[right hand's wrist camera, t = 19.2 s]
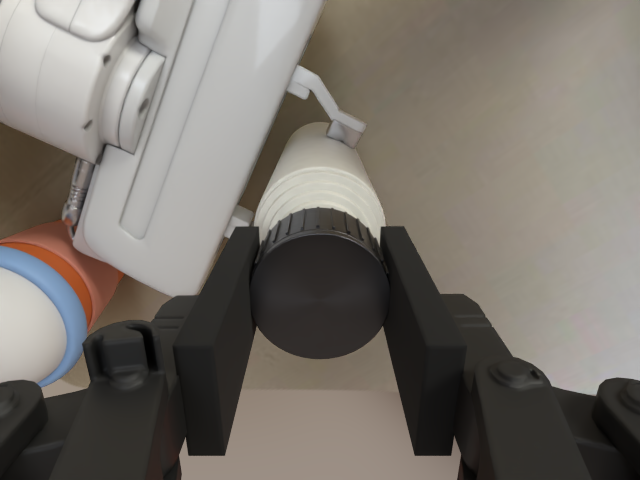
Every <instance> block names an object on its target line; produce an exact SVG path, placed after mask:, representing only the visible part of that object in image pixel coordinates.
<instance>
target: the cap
mask: <svg viewBox="0 0 640 480" xmlns="http://www.w3.org/2000/svg"><path fill="white" fill-rule="evenodd" d="M254 265H255V266H254V269H253V272H252V275H251V281H250V285H249V292H250V307H251V314H252V317H253V319H254V321H255V323H256V325H257V326H258V328H259V330H260V331H261V332H262V333H263V335H264V336H265V337H266V338H267V339H268V340H269V341H270V342H272V343H273V344H274V345H276V346H277V347H279V348H280V349H282V350H284V351H286V352H288V353H291V354H293V355H296V356H300V357H304V358H310V359H329V358H335V357H340V356H343V355H346V354H349V353H351V352H354V351H356V350H357V349H359V348H361V347H363V346H364V345H365V344H367V343H368V342H369V341H370V340H371V339H372V338H374V337H375V335H376V334H377V333H378V332H379V331H380V329H381V328H382V326H383V324H384V323H385V320H386V318H387V316H388V313H389V301H390V282H389V279H388V276H387V275H388V273H389V272H388V269H387V266H386V263H385V260H384V258H383V255H382V252H381V249H380V247H379V244H378V241H377V238H376V237H375V238H374V237H373V235H372V234H371V232H370V229H369V227H366V226H365V225H364V224H363V223H361V222H360V220H359V219H358V218H357V219H356V218H355V217H353V216H351V215H349V214H347V212H342V211H339V210H336V209H334V208H319V207H317V208H309V209H305V208H304V209H303V210H300V211H297V212H295V213H293V214H292V213H290V214H289V215H288V216H287V217H285V218H284V219H282V220H281V221H280V220H279V221H278V222H277V224H276V225H275V226H274V227H273V228H272V229H271V230H270V229H269V230H268V233H267V236H266V238H265V240H262V242H261V245H260V248H259V251H258V254H257V257H256V260H255V262H254Z"/></svg>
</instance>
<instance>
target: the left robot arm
mask: <svg viewBox="0 0 640 480" xmlns="http://www.w3.org/2000/svg"><path fill="white" fill-rule="evenodd" d="M326 2H327V0H0V122H1V123H3V124H5V125H7V126H9V127H12V128H14V129H16V130H19V131H21V132H23V133H25V134H27V135H30V136H32V137H34V138H36V139H39V140H41V141H43V142H45V143H48V144H50V145H52V146H55V147H57V148H59V149H61V150H63V151H66V152H68V153H70V154H72V155H75V156H77V158H76V162H75V166H74V170H73V173H72V177H71V183H70V191H69V195H68V198H67V200H66V201H65V203H64V206H63V209H62V214H61V221H62V223H63V224H65V225H66V230H67V234H68V236H69V239H70V240H71V242H72V243H73V246H74V248H75V249H77V250H78V251H79V252H81V253H83V254H85V255H88V256H90V257H93V258H95V259H97V260H100V261H102V262H105V263H108V264H110V265H111V266H113V267H115V268H116V269H118V270H119V271H121V272H123V273H125V274H126V275H128V276H130V277H132V278H134V279H135V280H137V281H139V282H141V283H143V284H145V285H147V286H149V287H151V288H153V289H155V290H157V291H159V292H161V293H163V294H165V295H168V296H170V297H173V298H174V297H175V296H177V295H196V294H197V293H198V292H199V290H200V289H201V287H202V285H203V283H204V281H205V279H206V277H207V275H208V273H209V271H210V269H211V267H212V264H213V262H214V260H215V257H216V255H217V253H218V251H219V248H220V246H221V244H222V241H223V239H224V237H227V238H230V236H231V234H232V233H233V231H234V229H235V227H236V226H254V221H252V219H253V217H254V212H252V211H250V210H248V209H246V208H244V207H241V206H239V202H240V200H241V198H242V195H243V193H244V191H245V188H246V186H247V184H248V182H249V179H250V177H251V175H252V172H253V170H254V168H255V165H256V163H257V161H258V159H259V156H260V154H261V152H262V149H263V147H264V145H265V142H266V140H267V138H268V136H269V133H270V131H271V129H272V126H273V124H274V122H275V119H276V117H277V115H278V113H279V110H280V108H281V106H282V103H283V101H284V99H285V96H286V94H287V92H290V93H292V94H294V95H296V96H298V97H300V98H302V99H304V100H305V99H307V98H308V95H309V93H310V91H311V90H312V92H313V93H314V95H315V96H316V98H317V99H318V101H319V102H320V104H321V105H322V107H323V108H324V110H325V111H326V113H327V114H328V116H329V117H330V119H331V121H330V124H329V126H328V128H327V130H326V136H328V137H330V138H332V139H334V140H337V141H341V140H342V141H343V143H344V144H345V145H347V146H348V147H350V148H353V149H355V147H356V145H357V143H358V142H359V140H360V138H361V136H362V134H363V132H364V130H365V128H366V126H367V124H366V123H365V122H363V121H362V120H360V119H358V118H356V117H354V116H352V115H350V114H348V113H346V112H344V111H342V110H340V109H339V107H338V105H337V104H336V102H335V100H334V99H333V97H332V96H331V94H330V93H329V91H328V90H327V88H326V86H325V85H324V83H323V82H322V80H321V79H320V77H319V76H318V75H317V74H315V73H313V72H311V71H310V70H308V69H306V68H304V67H302V66H300V65H299V64H300V62H301V60H302V57H303V55H304V53H305V50H306V48H307V46H308V44H309V41H310V39H311V37H312V34H313V32H314V30H315V28H316V25H317V23H318V21H319V18H320V16H321V14H322V11H323V9H324V7H325V4H326ZM74 226H77V229H76V232H75V231H74Z"/></svg>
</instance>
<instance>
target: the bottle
mask: <svg viewBox="0 0 640 480" xmlns="http://www.w3.org/2000/svg"><path fill="white" fill-rule="evenodd" d="M329 124H330V123H327V122H313V123H309V124H306V125H304V126H302V127H300V128H299V129H297V130H296V131H295V132H294V133H293V134H292V135H291V137H290V138H289V139H288V141H287V143H286V145H285V147H284V150H283V152H282V154H281V156H280V159H279V161H278V163H277V165H276V167H275V170H274V172H273V174H272V176H271V179H270V181H269V183H268V185H267V187H266V190H265V192H264V194H263V196H262V199H261V201H260V203H259V205H258V208H257V211H256V215H255V220H254V226H259V237H260V245H261V242H262V240H265V238H266V236H267V233H268V230H269V229H270V230H271V229H272V228H273V227H274V226H275V225H276V224H277V222H278V221H279V220H280V221H281V220H282V219H284V218H285V217H287V216H288V215H289V214H290V213H292V214H293V213H295V212H297V211H300V210H303V209H304V208H305V209H309V208H317V207H319V208H334V209H336V210H339V211H342V212H347V214H349V215H351V216H353V217H355V218H356V219H357V218H358V219H359V220H360V222H361V223H363V224H364V225H365V226H366V227H369V229H370V232H371V234H372V235H373V237H374V238H375V237H376V238H377V241H378V244H379V247H380V230H381V226H386V223H385V216H384V212H383V209H382V206H381V204H380V201H379V199H378V197H377V195H376V193H375V190H374V188H373V186H372V184H371V181H370V179H369V177H368V175H367V173H366V170H365V168H364V166H363V164H362V161H361V159H360V157H359V155H358V153H357V150H356V148H355V149H353V148H350V147H348V146H347V145H345V144H344V143H343V141H342V140H341V141H337V140H334V139H332V138H330V137H328V136H326V130H327V128H328V126H329Z"/></svg>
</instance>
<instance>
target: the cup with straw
mask: <svg viewBox="0 0 640 480" xmlns="http://www.w3.org/2000/svg"><path fill="white" fill-rule="evenodd" d="M76 229H77V226H74V231H75V232H76ZM124 274H125V273H123V272H121V271H119V270H118V269H116V268H115V267H113V266H111V265H110V264H108V263H105V262H102V261H100V260H97V259H95V258H93V257H90V256H88V255H85V254H83V253H81V252H79V251H78V250H77V249H75V248H74V246H73V243H72V242H71V240H70V239H69V236H68V234H67V230H66V225H65V224H63V223H62V221H61V219H60V220H57V221H55V222H49V223H44V224H40V225H37V226H35V227H32V228H29V229H27V230H24V231H22V232H19V233H16V234H14V235H11V236H9V237H6V238H4V239H1V240H0V383H2V382H6V381H13V380H28V381H33V382H35V383H36V384H38V385H39V386H40V387H41V388H42V387H44V386H47V385H49V384H51V383H53V382H55V381H57V380H58V379H60V378H61V377H62V376H64V375H65V374H66V373H67V372H69V371H70V370H71V368H72V367H73V366H74V365H75V364H76V362H77V361H78V360H79V358H80V356H81V354H82V352H83V347H82V343H83V342H84V341H85V340H86V338H87V334H88V332H89V331H90V329H91V328H92V326H93V325H94V323H95V322H96V320H97V319H98V317H99V316H100V314H101V313H102V311H103V310H104V308H105V307H106V305H107V304H108V302H109V301H110V300H111V298H112V296H113V295H114V293H115V291H116V288H117V285H118V283H119V282H120V280H121V279H122V277H123V276H124Z"/></svg>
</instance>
